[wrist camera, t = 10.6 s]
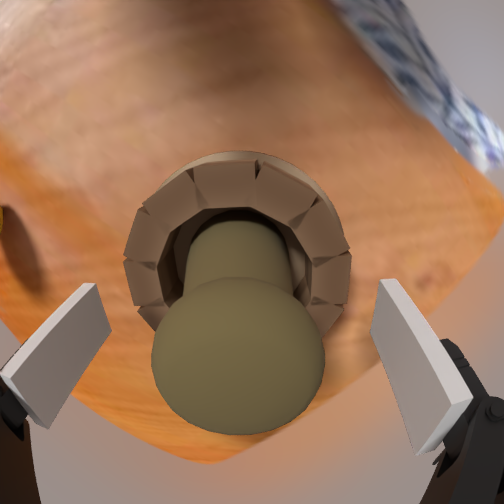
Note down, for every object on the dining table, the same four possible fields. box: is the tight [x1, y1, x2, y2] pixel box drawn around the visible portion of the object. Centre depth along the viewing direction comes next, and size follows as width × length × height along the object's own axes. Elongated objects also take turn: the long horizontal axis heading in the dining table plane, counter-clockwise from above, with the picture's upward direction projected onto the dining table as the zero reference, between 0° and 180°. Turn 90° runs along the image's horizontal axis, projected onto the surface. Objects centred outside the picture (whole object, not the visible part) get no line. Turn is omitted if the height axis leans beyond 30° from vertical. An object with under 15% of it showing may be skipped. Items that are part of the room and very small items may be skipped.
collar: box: [123, 151, 352, 339], centre depth 16 cm, size 13×13×4 cm
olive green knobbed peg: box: [151, 210, 325, 435], centre depth 12 cm, size 6×6×11 cm
